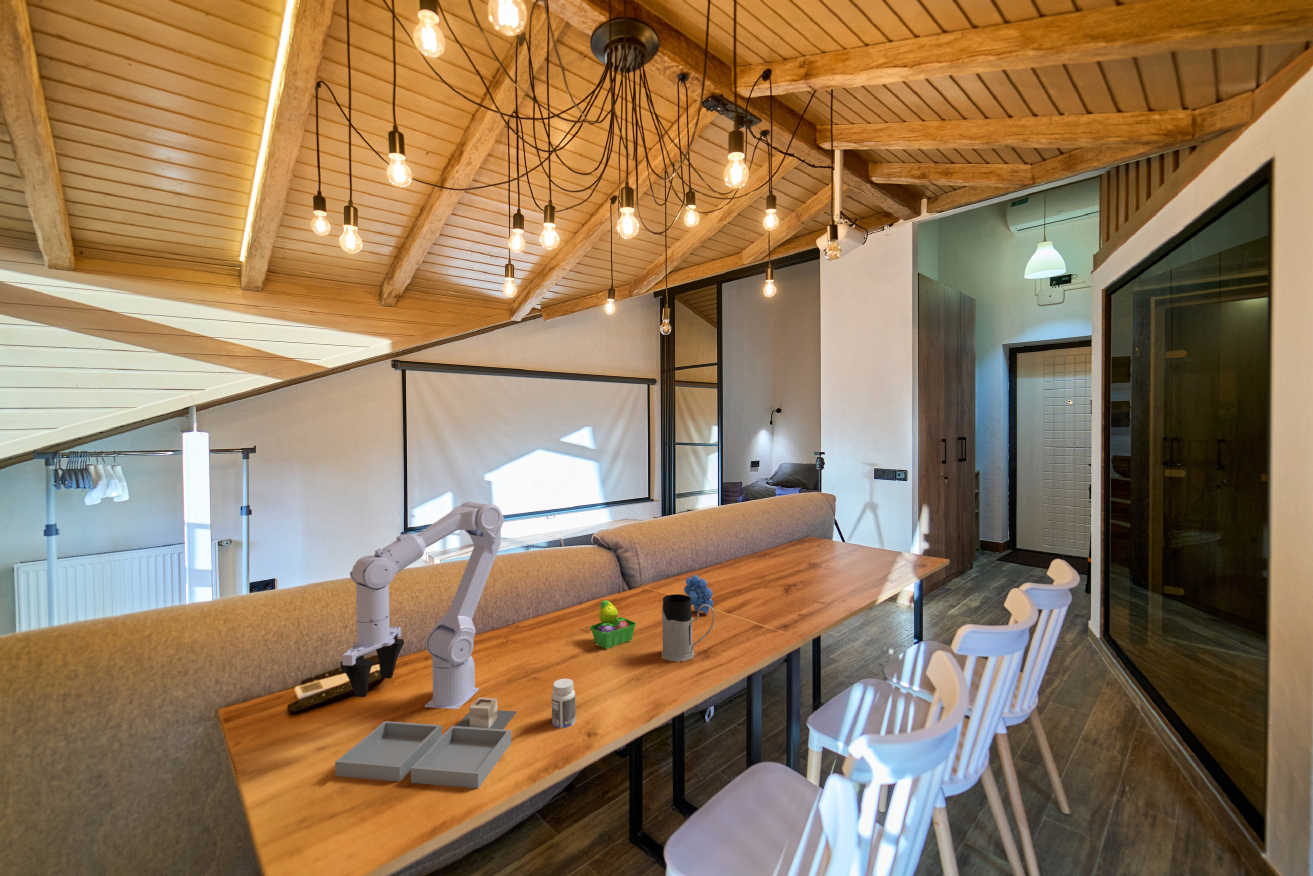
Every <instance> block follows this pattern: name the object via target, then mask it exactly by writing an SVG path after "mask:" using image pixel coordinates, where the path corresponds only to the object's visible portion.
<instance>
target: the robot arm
mask: <svg viewBox="0 0 1313 876" xmlns="http://www.w3.org/2000/svg"><path fill="white" fill-rule="evenodd" d="M504 521H505V518H504V515H503V513H502V511H501V509H500V508H499V506H497V505H496V504H494V503H480V502H474V501H465V502H463V503H462V504H460V505H458V506H455V507H453V508H452V510H450V512H448V513H446V514H445V515H444V516H443V517H440V518H439V519H438V520H437V521H435V522H434V523H432V524H430V525H429V526H428V527H426V528H425V529H423V530H422V531H420V532H419V533H417V534H416V535H415V534H413V533H412V534H411V533H406V534H399V535H398V536H396V539H395V541H393V542H392V543H390V544H388V545H386V546H385V547H383V548H378V549H376V550H374V554H373V555H364V556H362V557H360V558H358V559H357V561H356V562H355V564H353V567H352V569H351V571H350V572H349V576H350V578H351V581H353V582H354V583H355V585H356V587H355V588H356V589H355V593H356V594H355V595H356V596H355V602H356V603H355V605H356V607H355V609H356V614H355V615H356V642H355V643H354V644H353V645H352V646H351V647H350V648H349V649H348V651H346V652H344V653H343V654H342V655H341V656H342V659H341V661H340V668H341V670H342V671H343V672H344V673H345V675H346V676H347V678H348V681H349V682H350V685H351V688H352V691H353V693H354V697H356V698H365V697H367V696H368V691H369V681H370V675H371V674H370V673H371V670H372V667H373V664H374V660H367V659H366V658H365V656H367V655H369V654H371V653H372V652H374V651H376V654H377V659H378V663H379V664H378V665H379V674H380V678H381V679H389V680H390V679H391V680H392V678H393V675H394V674H395V673H394V672H395V670H396V669H395V668H396V665H397V660H398V657H399V654H400V652H401V650H402V648H403V646H404V644H405V640H404V639H403V638H400V637H402V627H401V626H390V625H391V624H390V623H391V622H390V584H391V583H392V582H393V579H394V578H395V575H396V574H398V573H399V572H401V571H402V570H404V569H405V568H407V567H409V566H410V565H412V564H413V563H415V562H417V561H418V560H420V559H421V558H423V557H424V555H425V554H424V553H425V551H426V549H427V548H428V547H430V546H433V545H434V544H435V543H438V542H439V541H441V540H442V539H445V538H446V537H448V536H450V535H451V534H453V533H455V532H458V531H464V532H466V534H468V536H469V537H470V539H471V541H472V543H473V548H472V551H471V554H470V556H469V558H468V561H467V564H466V567H465V569H464V571H463V573H462V577H461V579H460V581H459V584H458V586H457V589H456V591H455V595H454V596H453V599H452V601H451V604H450V606H449V610H448V611H447V613H445V615H443V616H442V617H440V618H439V619H438V620H437V623H436V625H435V626H434V628H433V629H432V630H431V631H430V633H429V634H428V635H427V638H426V640H425V647H426V650H427V653H429V654H430V655H431V663H432V665H431V667H432V673H431V674H432V698H431V700H429V701H427V703H426V704H425V705H424V706H423V707H425V708H433V709H434V708H436V709H437V708H438V709H451V710H452V709H453V710H458V709H460V708H461V707H462V706H463V705H464V704H465V703H468V702H469V700H470V699H471V698H472V697H473V696H474V695H475V694H476V693H477V692H479V687H476V678H475V677H476V675H475V673H476V672H475V666H476V665H475V661H474V658H473V657H472V653H473V651H474V639H475V635H476V632H477V631H476V628H475V627H476V626H475V624H474V622H473V618H474V615H475V613H476V609H477V607H478V605H479V602H480V600H481V597H482V594H483V591H484V589H485V586H486V584H487V581H488V579H489V576H490V573H491V570H492V568H493V565H494V562H495V560H496V558H497V555H498V552H499V549H500V546H501V541H502V540H501V539H502V537H501V536H502V535H501V534H502V531H501V529H502V527H503V524H504Z"/></svg>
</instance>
